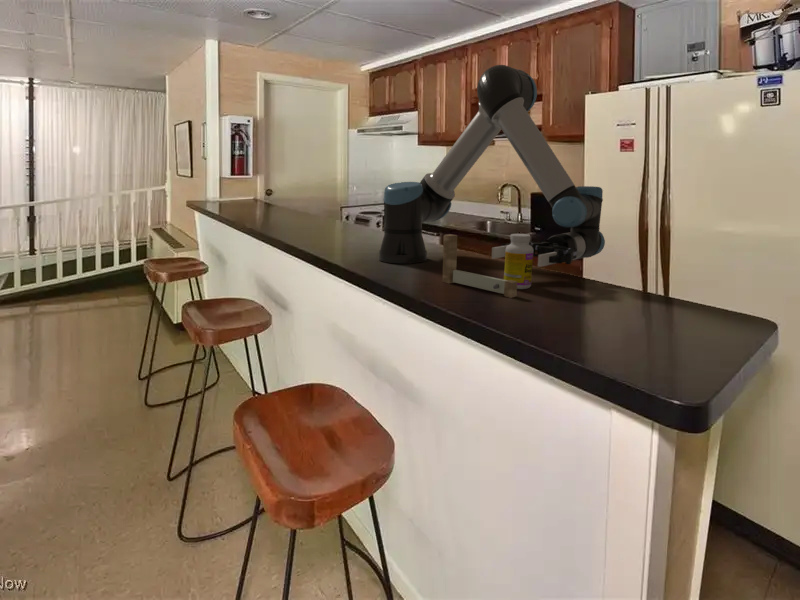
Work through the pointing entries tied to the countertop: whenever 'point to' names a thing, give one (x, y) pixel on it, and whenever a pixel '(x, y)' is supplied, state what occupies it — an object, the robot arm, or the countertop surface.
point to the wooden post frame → (451, 260)
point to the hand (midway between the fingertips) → (515, 256)
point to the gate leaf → (479, 281)
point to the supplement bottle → (519, 261)
